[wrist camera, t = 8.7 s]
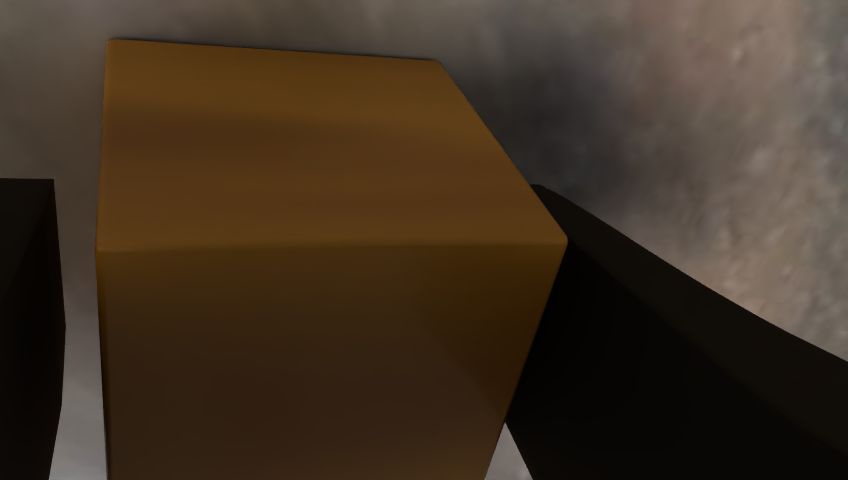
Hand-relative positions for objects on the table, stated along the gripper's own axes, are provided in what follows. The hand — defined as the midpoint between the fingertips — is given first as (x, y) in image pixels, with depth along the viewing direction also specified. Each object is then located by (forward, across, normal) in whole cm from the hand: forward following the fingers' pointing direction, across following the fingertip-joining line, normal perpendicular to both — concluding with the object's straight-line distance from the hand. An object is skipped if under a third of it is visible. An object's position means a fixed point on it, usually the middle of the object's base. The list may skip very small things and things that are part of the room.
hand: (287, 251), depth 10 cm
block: (+1, 0, 0) cm, 1 cm away
